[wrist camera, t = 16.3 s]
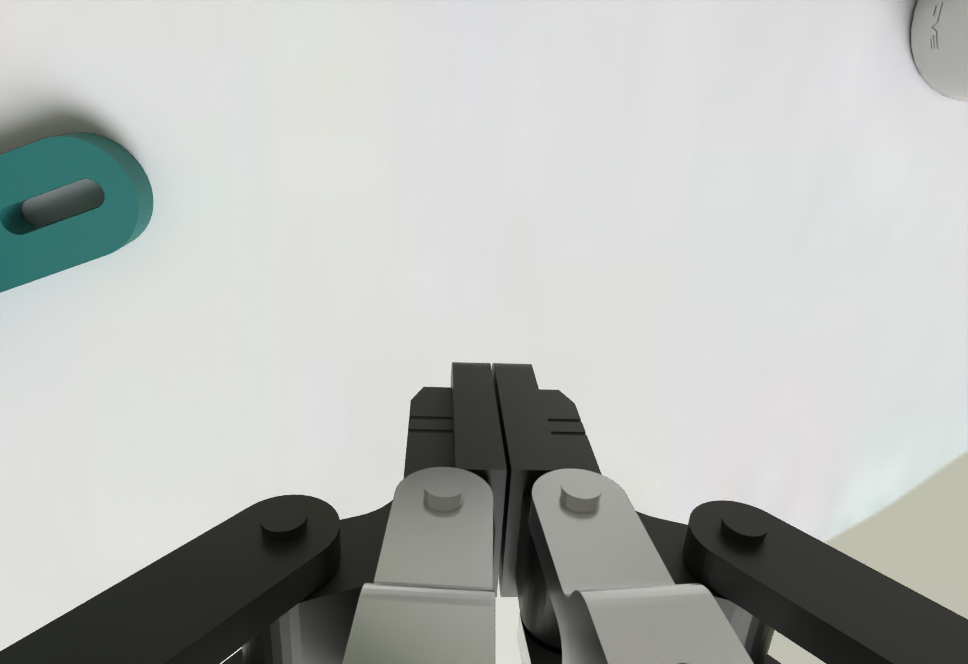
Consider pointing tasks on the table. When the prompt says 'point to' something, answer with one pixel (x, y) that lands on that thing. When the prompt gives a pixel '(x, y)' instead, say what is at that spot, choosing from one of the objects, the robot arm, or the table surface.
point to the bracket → (82, 237)
